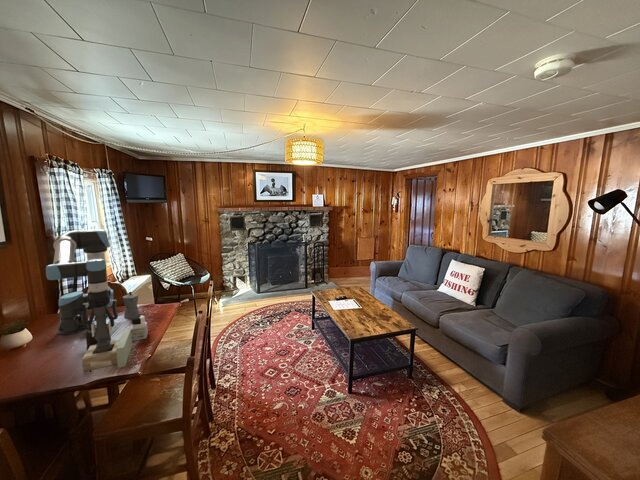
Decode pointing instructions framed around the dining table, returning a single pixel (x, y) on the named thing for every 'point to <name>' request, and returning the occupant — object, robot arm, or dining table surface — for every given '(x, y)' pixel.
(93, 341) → the coffee grinder
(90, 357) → the socket block
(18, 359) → the dining table surface
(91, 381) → the dining table surface
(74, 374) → the dining table surface
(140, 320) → the container
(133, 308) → the coffeepot
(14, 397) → the dining table surface
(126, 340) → the backstop wall
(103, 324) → the candle holder
